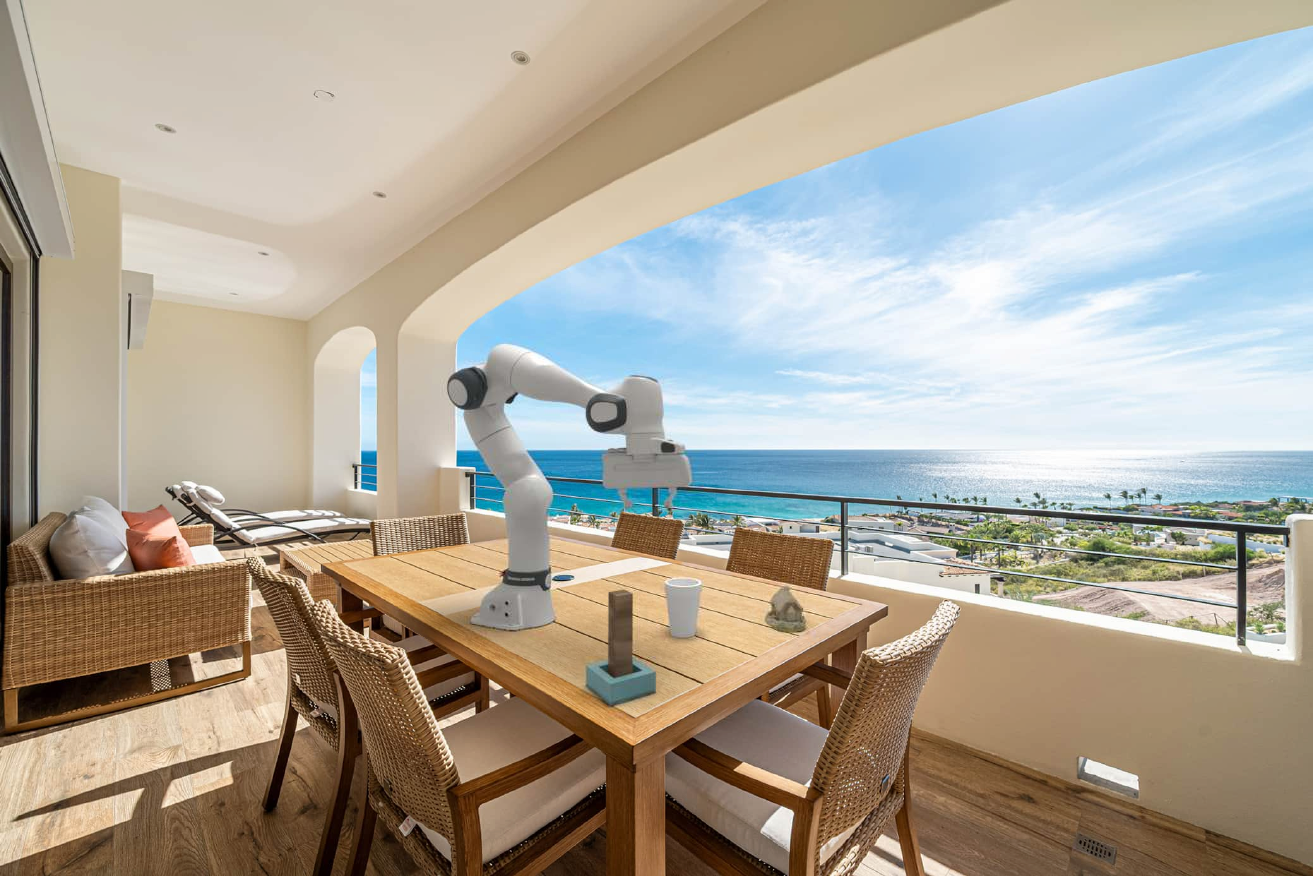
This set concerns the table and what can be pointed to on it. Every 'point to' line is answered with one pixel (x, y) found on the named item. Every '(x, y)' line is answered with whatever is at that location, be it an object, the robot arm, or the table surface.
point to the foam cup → (683, 605)
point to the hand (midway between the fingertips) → (647, 508)
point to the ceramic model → (785, 612)
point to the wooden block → (620, 633)
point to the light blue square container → (620, 682)
